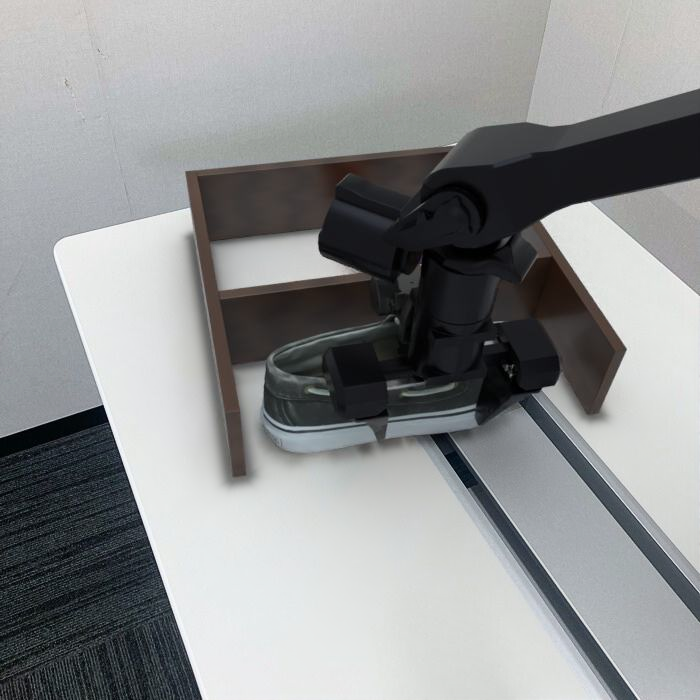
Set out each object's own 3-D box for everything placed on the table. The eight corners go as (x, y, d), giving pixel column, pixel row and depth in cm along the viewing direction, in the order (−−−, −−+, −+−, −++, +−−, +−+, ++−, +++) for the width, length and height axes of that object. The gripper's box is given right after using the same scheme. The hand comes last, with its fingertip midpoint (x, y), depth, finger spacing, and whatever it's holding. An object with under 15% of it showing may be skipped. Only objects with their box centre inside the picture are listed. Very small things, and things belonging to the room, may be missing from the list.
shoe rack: (474, 204, 96) (487, 141, 89) (599, 413, 73) (627, 349, 66) (193, 236, 89) (185, 170, 83) (232, 477, 66) (224, 412, 60)
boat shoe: (564, 400, 74) (591, 325, 66) (287, 494, 65) (284, 419, 58) (508, 332, 80) (527, 256, 73) (250, 408, 72) (243, 331, 64)
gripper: (528, 220, 63) (493, 351, 74) (308, 246, 59) (307, 379, 70) (589, 310, 55) (540, 440, 67) (342, 345, 52) (334, 477, 63)
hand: (429, 430), depth 67 cm, fingers open, 9 cm apart
